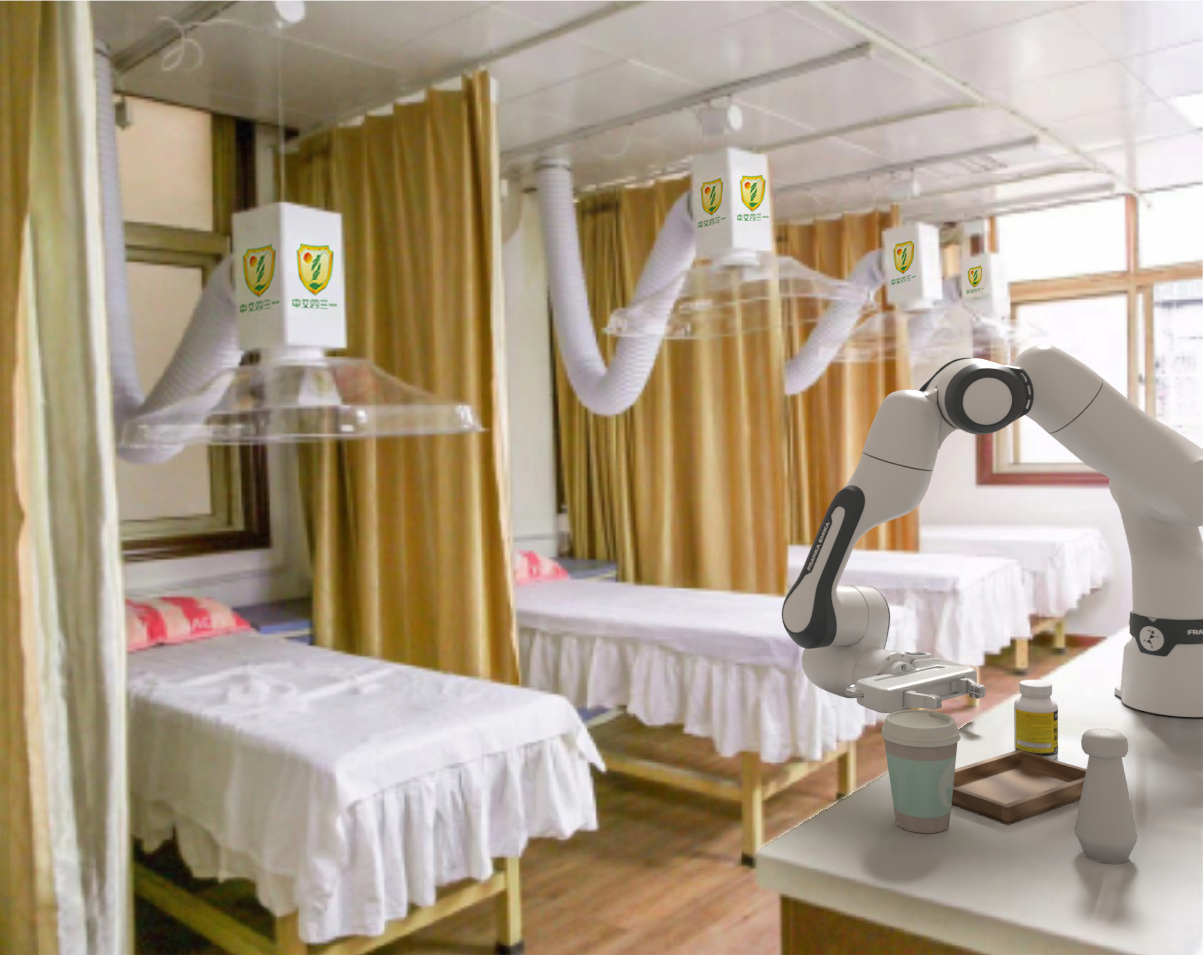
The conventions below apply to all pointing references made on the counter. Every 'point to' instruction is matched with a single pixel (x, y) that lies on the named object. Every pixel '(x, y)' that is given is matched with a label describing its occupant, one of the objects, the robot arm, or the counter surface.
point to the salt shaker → (1105, 799)
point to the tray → (1016, 786)
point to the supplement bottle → (1036, 719)
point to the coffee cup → (921, 767)
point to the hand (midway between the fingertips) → (960, 698)
